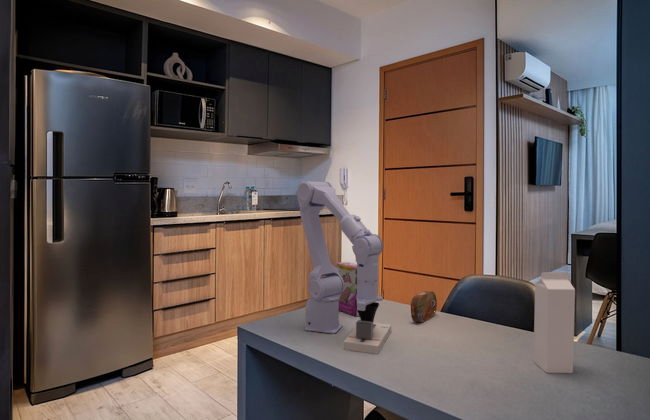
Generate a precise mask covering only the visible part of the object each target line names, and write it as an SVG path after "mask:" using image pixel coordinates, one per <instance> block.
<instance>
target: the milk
mask: <svg viewBox="0 0 650 420" xmlns="http://www.w3.org/2000/svg"><path fill="white" fill-rule="evenodd" d="M540 277H541V279H540V280H537V282H535V283H534V317H533V318H534V322H533V323H534V325H533V327H534V328H533V363H534V364H535V365H536V366H538V367H539V368H540V369H541V370H542V371H544V373H546V374H547V373H548V374H573V373H574V349H575V345H574V343H575V342H574V340H575V310H576V307H575V305H576V301H575V300H576V288H575V287H574V286H573V285H572V283H571V282H570V280H569V274H568V273H567V272H559V271H558V272H552V271H551V272H550V271H549V272H545V271H544V272H541V276H540Z"/></svg>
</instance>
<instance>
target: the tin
mask: <svg viewBox="0 0 650 420" xmlns="http://www.w3.org/2000/svg"><path fill="white" fill-rule="evenodd" d="M437 304H438V302H437V297H436V294H435V292H434V291H429V290H428V291H427V290H426V291H423V292H420V293H418V294H416V295H414V296H413V298H412V299H411V301H410V317H411V319H412V320H413V322H416V323H421V324H423V323H425V322H427V321H429V320H430V319H432V318H434V316H435V315H436V312H437ZM434 311H435V312H434Z"/></svg>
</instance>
